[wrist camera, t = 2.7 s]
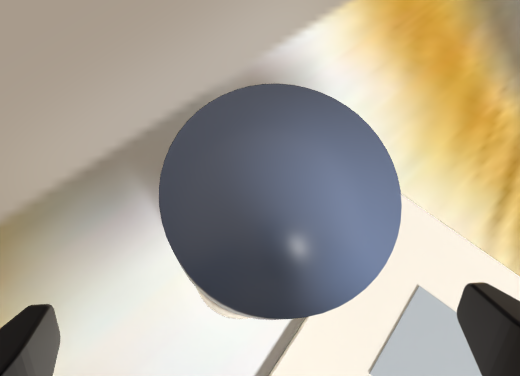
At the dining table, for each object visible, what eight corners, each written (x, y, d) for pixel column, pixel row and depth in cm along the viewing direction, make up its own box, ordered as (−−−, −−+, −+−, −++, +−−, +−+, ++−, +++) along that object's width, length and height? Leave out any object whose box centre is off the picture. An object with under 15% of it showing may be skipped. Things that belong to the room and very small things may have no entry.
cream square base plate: (585, 329, 19) (596, 329, 19) (488, 574, 16) (498, 583, 15) (388, 190, 20) (393, 186, 20) (257, 392, 17) (259, 395, 16)
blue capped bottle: (304, 262, 19) (441, 171, 8) (250, 342, 18) (318, 376, 6) (230, 208, 19) (256, 44, 8) (172, 282, 18) (104, 212, 7)
